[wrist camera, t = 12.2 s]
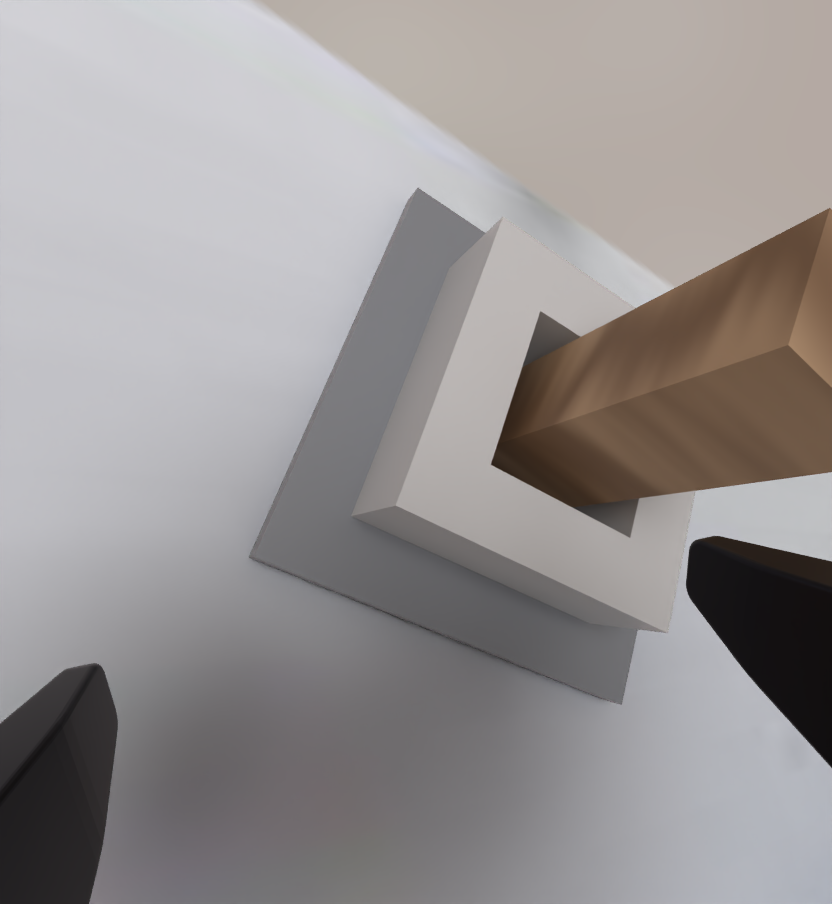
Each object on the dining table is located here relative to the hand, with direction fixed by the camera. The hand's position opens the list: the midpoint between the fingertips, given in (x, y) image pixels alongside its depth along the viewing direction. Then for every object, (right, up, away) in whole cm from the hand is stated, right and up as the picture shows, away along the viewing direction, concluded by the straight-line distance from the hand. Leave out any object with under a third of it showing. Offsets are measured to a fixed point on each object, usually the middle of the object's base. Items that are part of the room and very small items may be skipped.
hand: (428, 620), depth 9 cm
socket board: (+4, +3, +16) cm, 17 cm away
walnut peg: (+4, +3, +15) cm, 16 cm away
